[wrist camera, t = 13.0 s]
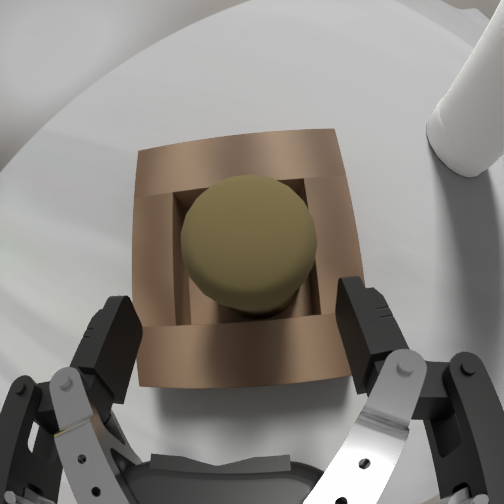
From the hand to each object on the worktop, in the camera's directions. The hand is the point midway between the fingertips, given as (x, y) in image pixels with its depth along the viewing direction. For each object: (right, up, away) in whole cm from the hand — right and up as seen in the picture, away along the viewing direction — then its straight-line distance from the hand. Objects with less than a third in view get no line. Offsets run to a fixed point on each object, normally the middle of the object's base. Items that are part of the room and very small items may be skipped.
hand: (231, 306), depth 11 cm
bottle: (+22, +13, +12) cm, 28 cm away
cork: (+1, 0, +10) cm, 10 cm away
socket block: (0, +1, +11) cm, 11 cm away
